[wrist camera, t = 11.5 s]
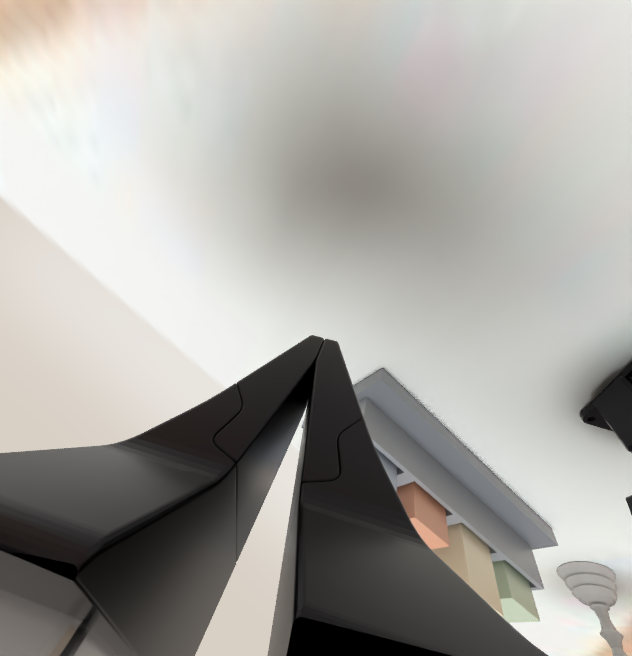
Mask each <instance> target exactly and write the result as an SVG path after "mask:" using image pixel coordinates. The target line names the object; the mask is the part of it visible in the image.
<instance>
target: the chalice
mask: <svg viewBox="0 0 632 656" xmlns="http://www.w3.org/2000/svg"><path fill="white" fill-rule="evenodd" d="M557 573H558V575H559V576H560V577H561V578H562V579H563V580H564V581H565V584H566V586H567V587H568V588H569V589H570V590H571V591H572V594H573V595H574V596H575V597H576V598H577V599H578V600H579V601H580V602H582V603H583V604H585V605H588V606H590V608H591V609H593V610H594V611H595V613H596V614H597V616H598V618H599V619H600V623H601V628H602V630H601V632H600V635H601V636H602V637H603V638H604V639H605V640H606V641H607V642H608V644H609V645H610V647H611V648H612V652H613V656H627V655H626V653H625V652H624V650H623V646H622V640H623V635H622V634H621V633H619V632H618V631H617V630H616V628H615V627H614V625H613V624H612V622H611V620H610V618H609V614H608V611H609V610H610V608H609V607H611V606H613V605H614V604H615V603H616V600H617V594H616V585H615V573H614V572H613V571H612V570H611V569H609V568H607V567H606V566H603V565H600V564H597V563H591V562H569V563H566V564H563V565H561V566H560V567H558V569H557Z"/></svg>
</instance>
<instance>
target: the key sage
mask: <svg viewBox="0 0 632 656" xmlns="http://www.w3.org/2000/svg"><path fill="white" fill-rule="evenodd" d="M492 564H493V569H494V573H495V578H496V582H497V587H498V592H499V596H500V601H501V605H502V610H503V615H504V616H502V617H503V618H504V619H505V620H506V621H507V622H508V623H509V622H538V621H540V619H539V615H538V612H537V608H536V605H535V601H534V598H533V595H532V591H531V588H530V584H529V581H528V579H527V578H526V577H525V576H523V575H522V574H521V573H520V572H519V571H518V570H516V569H515V568H514V567H513V566H512V565H511V564H510V563H508V562H507V561H506V560H501V561H494V562H492Z"/></svg>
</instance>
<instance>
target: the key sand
mask: <svg viewBox="0 0 632 656" xmlns="http://www.w3.org/2000/svg"><path fill="white" fill-rule="evenodd" d="M447 528H448V537H449V545H450V546H448V547H442V548H437V549H432V551H433V552H434V553H435V554H436V555H437V556H438V557H439V558H440V559H441V560H443V561H444V562H445V563H446V564H447V565H448V566H449V567H450V568H451V569H452V570H453V571H454V572H455V573H456V574H457V575H458V576H459V577H461V578H462V579H463V580H464V581H465V582H466V583H467V584H468V585H469V586H470V587H471V588H472V589H473V590H474V591H475V592H476V593H477V594H478V595H480V596H481V597H482V598H483V599H484V600H485V601H486V602H487V603H488V604H489V605H490V606H491V607H492V608H493V609H494V610H495V611H496V612H498V613H499V614H500V615H501V616H504V615H503V610H502V605H501V601H500V596H499V592H498V587H497V582H496V578H495V573H494V569H493V564H492V559H491V555H490V550H489V545H488V544H486V543H485V542H484V541H483V540H482V539H481V538H480V537H478V536H477V535H476V534H475V533H474V532H473V531H471V530H470V529H469V528H468V527H467V526H466V525H465V524H463V523H458V524H454V525H449V526H447Z"/></svg>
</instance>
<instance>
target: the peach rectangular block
mask: <svg viewBox="0 0 632 656" xmlns="http://www.w3.org/2000/svg"><path fill="white" fill-rule="evenodd" d="M397 494H398V496H399V498H400V500H401V502H402V504H403V506H404V508H405V510H406V512H407V514H408V516H409V518H410V520H411V522H412V524H413V526H414V527H415V529H416V530H417V532H418V534H419V535H420V536H421V538H422V539H423V541H424V542H425V543H426V544H427V545H428V547H429V548H430V549H431V550H432V549H437V548H442V547H448V546H450V545H449V537H448V528H447V520H446V511H445V507H444V506H443V505H441V504H440V503H439V502H438V501H437V500H436V499H435V498H433V497H432V496H431V495H430V494H429V493H428V492H426V491H425V490H424V489H423V488H422V487H421V486H420V485H418V484H417V483H416V482H415V481H414V482H411V483H408V484H405V485H402V486H399V487H397Z"/></svg>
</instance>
